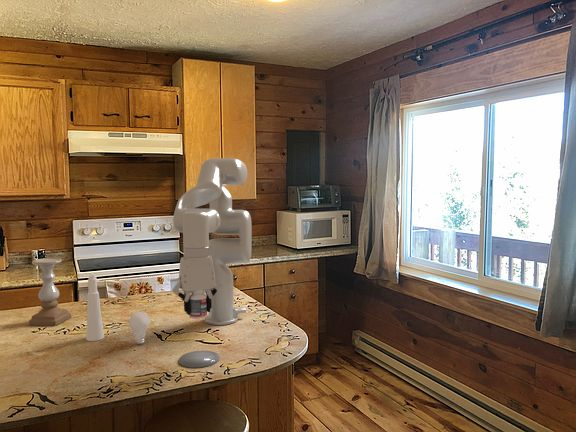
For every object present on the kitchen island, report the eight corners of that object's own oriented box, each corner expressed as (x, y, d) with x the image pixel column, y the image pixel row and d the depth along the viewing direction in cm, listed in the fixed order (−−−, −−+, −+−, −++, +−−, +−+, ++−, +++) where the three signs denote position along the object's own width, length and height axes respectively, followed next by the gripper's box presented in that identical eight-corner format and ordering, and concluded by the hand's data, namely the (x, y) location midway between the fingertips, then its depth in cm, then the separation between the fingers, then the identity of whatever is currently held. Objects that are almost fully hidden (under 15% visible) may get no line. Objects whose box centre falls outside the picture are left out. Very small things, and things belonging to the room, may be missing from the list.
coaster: (212, 349, 155) (212, 347, 155) (224, 363, 144) (224, 361, 144) (175, 356, 150) (175, 354, 150) (184, 370, 139) (184, 368, 139)
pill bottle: (203, 319, 142) (202, 290, 142) (186, 318, 143) (185, 289, 143) (209, 314, 148) (208, 285, 147) (193, 313, 149) (192, 285, 148)
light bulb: (139, 349, 156) (137, 316, 155) (125, 345, 160) (124, 312, 158) (154, 342, 162) (153, 310, 161) (141, 339, 165) (139, 307, 164)
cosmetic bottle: (81, 340, 165) (78, 276, 163) (94, 334, 170) (91, 273, 168) (96, 342, 163) (92, 278, 161) (108, 336, 168) (105, 274, 166)
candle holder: (71, 317, 191) (68, 257, 188) (55, 326, 180) (52, 263, 177) (45, 316, 192) (42, 257, 189) (28, 325, 181) (24, 262, 178)
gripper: (220, 248, 151) (221, 305, 152) (164, 253, 143) (166, 312, 145) (228, 252, 144) (229, 311, 146) (170, 257, 137) (172, 319, 138)
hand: (198, 311), depth 145 cm, fingers closed on pill bottle, 5 cm apart
